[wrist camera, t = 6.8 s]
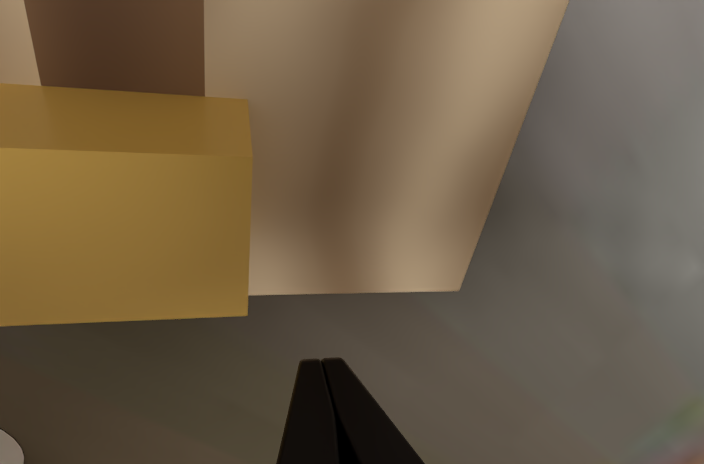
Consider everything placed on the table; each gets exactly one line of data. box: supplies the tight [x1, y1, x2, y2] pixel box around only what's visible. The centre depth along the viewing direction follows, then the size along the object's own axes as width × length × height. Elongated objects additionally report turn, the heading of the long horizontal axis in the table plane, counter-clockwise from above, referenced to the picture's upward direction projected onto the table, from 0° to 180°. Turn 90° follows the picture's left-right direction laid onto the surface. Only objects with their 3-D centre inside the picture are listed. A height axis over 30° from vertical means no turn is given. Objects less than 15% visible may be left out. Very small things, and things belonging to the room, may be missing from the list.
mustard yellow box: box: [0, 83, 253, 326], centre depth 13 cm, size 7×5×4 cm
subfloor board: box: [0, 0, 569, 295], centre depth 14 cm, size 18×16×2 cm
